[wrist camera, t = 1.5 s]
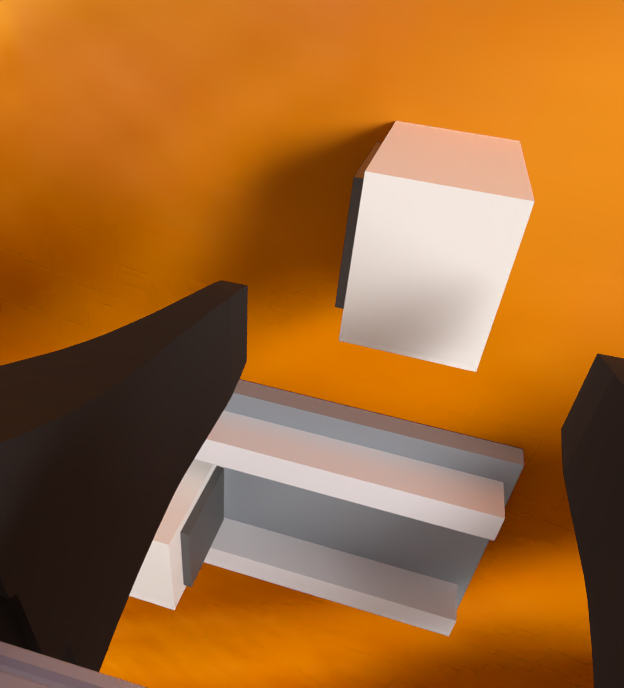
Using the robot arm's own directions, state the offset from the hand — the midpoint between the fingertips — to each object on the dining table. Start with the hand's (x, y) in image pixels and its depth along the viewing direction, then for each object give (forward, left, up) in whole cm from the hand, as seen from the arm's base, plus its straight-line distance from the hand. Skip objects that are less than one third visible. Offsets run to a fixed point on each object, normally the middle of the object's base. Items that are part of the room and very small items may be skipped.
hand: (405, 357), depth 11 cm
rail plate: (+3, +16, -10) cm, 19 cm away
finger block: (0, 0, -10) cm, 10 cm away
